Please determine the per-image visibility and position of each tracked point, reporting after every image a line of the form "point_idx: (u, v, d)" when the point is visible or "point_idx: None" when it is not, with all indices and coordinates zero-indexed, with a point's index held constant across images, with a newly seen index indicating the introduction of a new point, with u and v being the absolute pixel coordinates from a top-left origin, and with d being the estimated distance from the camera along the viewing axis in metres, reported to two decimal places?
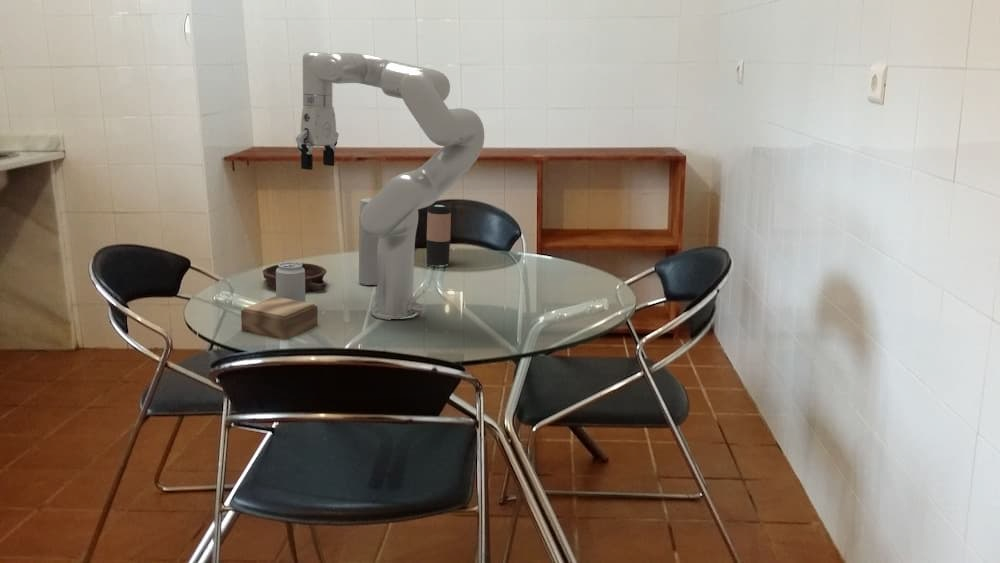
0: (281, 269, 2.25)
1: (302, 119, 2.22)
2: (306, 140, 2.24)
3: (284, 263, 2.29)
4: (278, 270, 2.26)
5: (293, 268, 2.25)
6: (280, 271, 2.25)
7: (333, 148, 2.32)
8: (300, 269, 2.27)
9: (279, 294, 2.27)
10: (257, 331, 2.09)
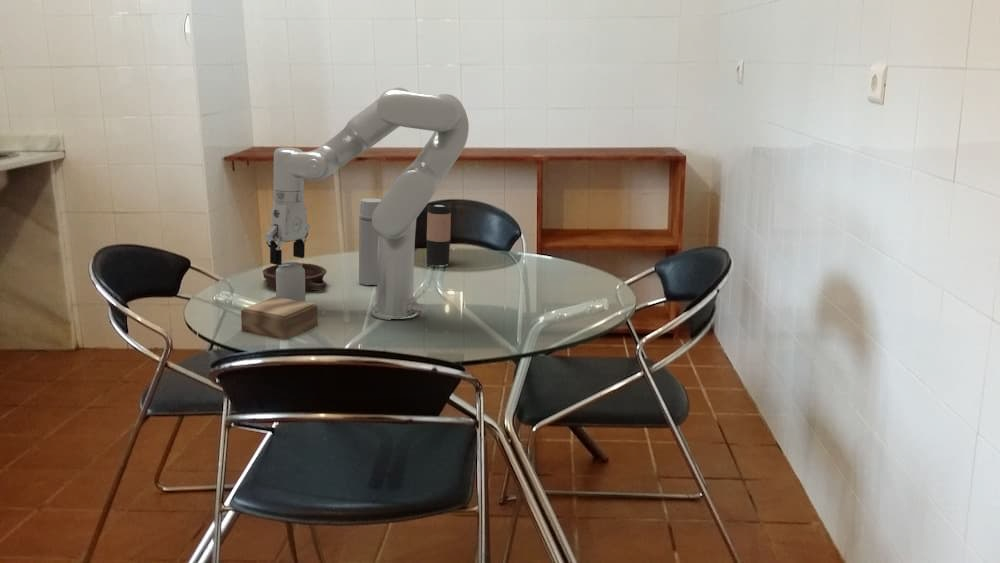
0: (281, 269, 2.25)
1: (272, 215, 2.20)
2: (276, 235, 2.23)
3: (284, 263, 2.29)
4: (278, 270, 2.26)
5: (293, 268, 2.25)
6: (280, 271, 2.25)
7: (303, 240, 2.30)
8: (300, 269, 2.27)
9: (280, 294, 2.27)
10: (257, 331, 2.09)
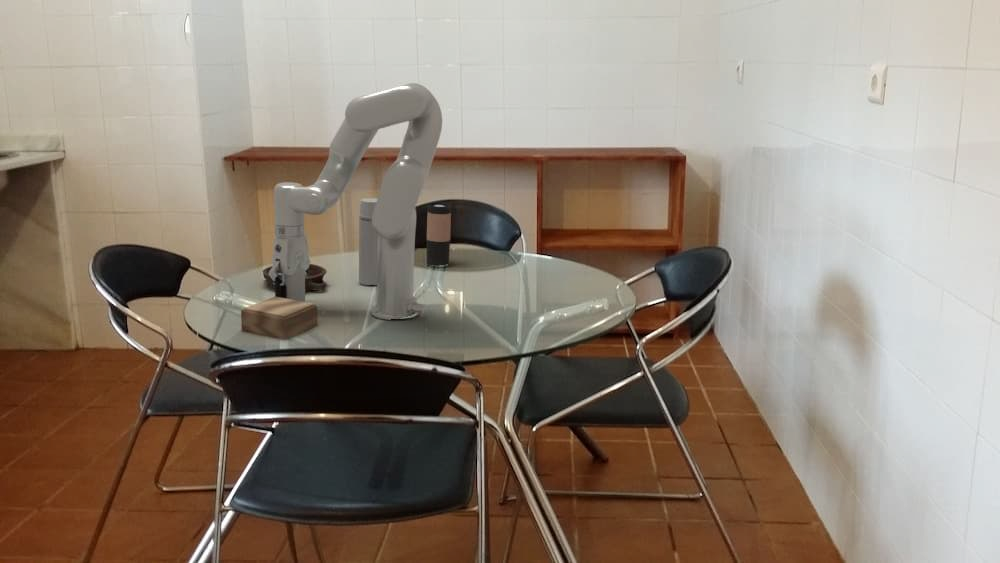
0: None
1: (274, 249, 2.23)
2: (278, 269, 2.25)
3: None
4: None
5: None
6: (280, 271, 2.25)
7: None
8: (300, 269, 2.27)
9: None
10: (257, 331, 2.09)
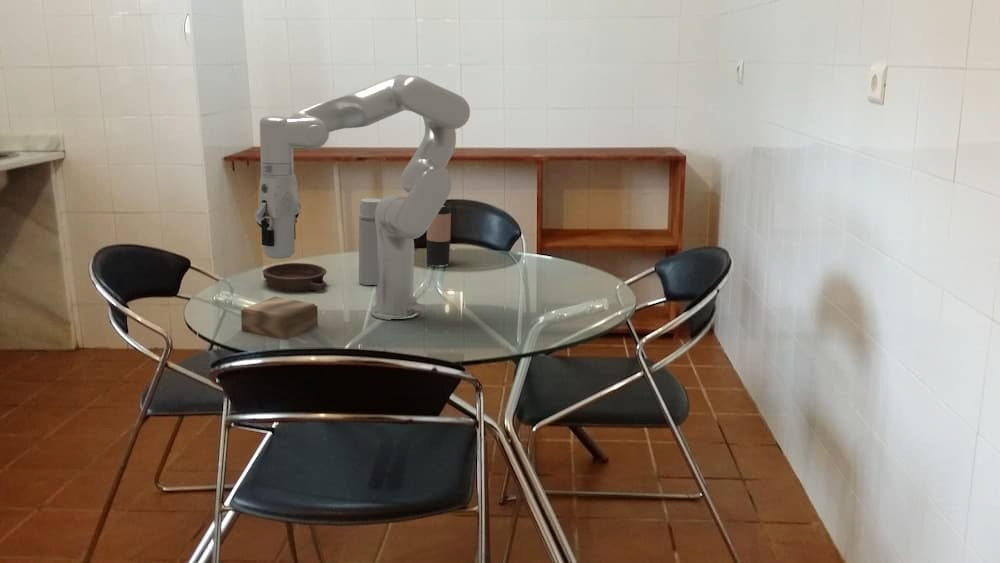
0: None
1: (260, 190, 2.02)
2: (265, 212, 2.04)
3: None
4: None
5: None
6: (266, 215, 2.04)
7: (294, 221, 2.11)
8: (289, 212, 2.06)
9: None
10: (257, 331, 2.09)
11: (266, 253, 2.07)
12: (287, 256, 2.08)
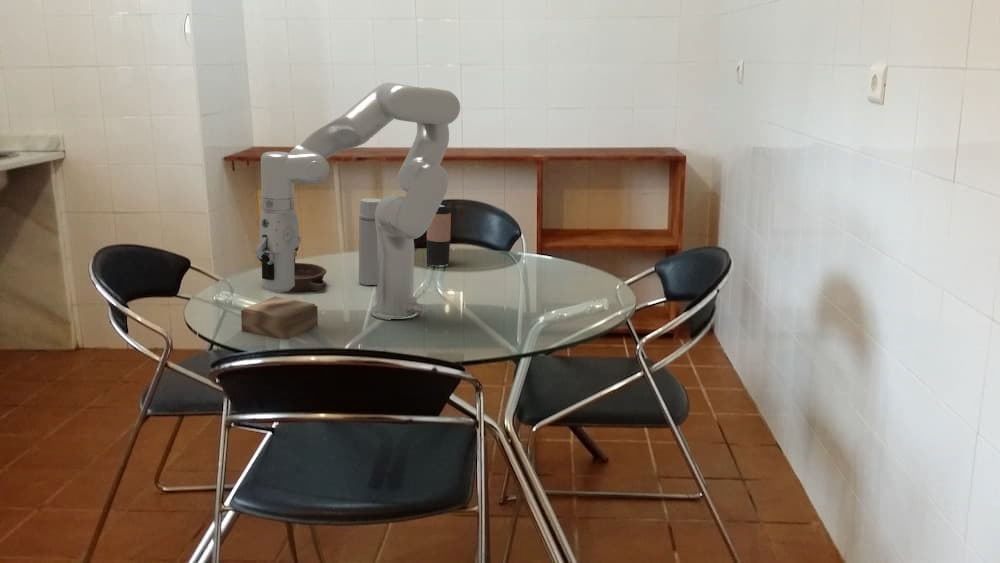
0: None
1: (260, 225, 2.04)
2: (265, 246, 2.06)
3: None
4: None
5: None
6: (267, 249, 2.06)
7: (294, 254, 2.13)
8: (289, 246, 2.08)
9: None
10: (257, 331, 2.09)
11: (266, 286, 2.09)
12: (287, 289, 2.10)
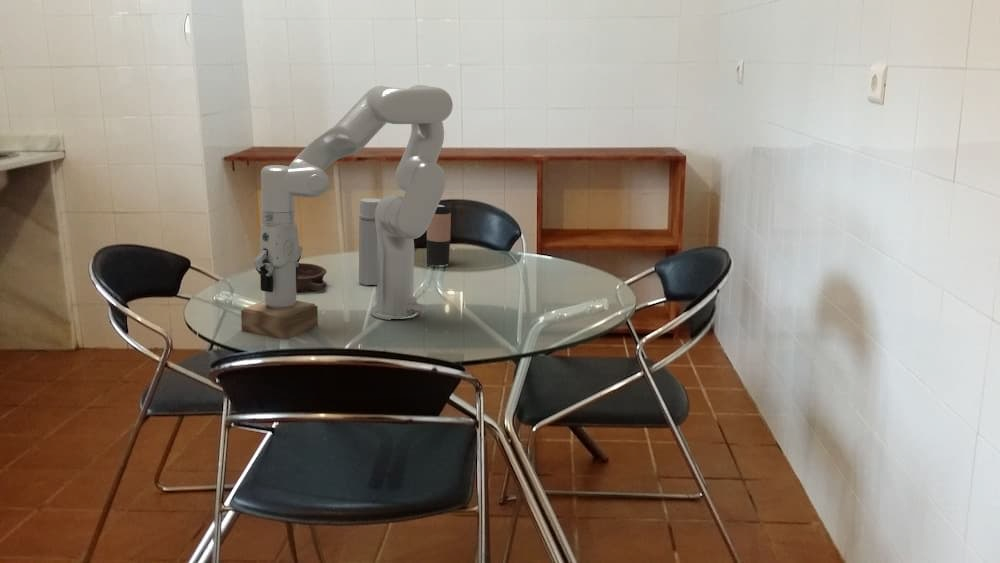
0: None
1: (261, 238, 2.05)
2: (266, 260, 2.07)
3: None
4: None
5: None
6: None
7: (296, 264, 2.15)
8: (290, 264, 2.09)
9: None
10: (257, 331, 2.09)
11: (268, 304, 2.10)
12: (289, 306, 2.11)
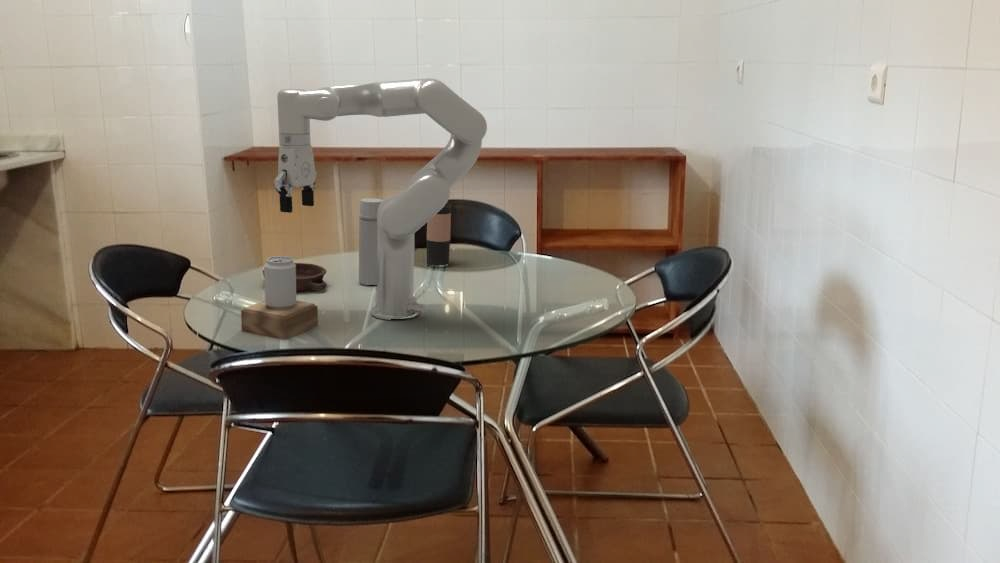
0: (270, 264, 2.08)
1: (279, 160, 2.11)
2: (284, 181, 2.13)
3: (273, 257, 2.12)
4: (267, 265, 2.08)
5: (283, 263, 2.08)
6: (268, 267, 2.07)
7: (312, 188, 2.21)
8: (290, 264, 2.09)
9: (268, 291, 2.09)
10: (257, 331, 2.09)
11: (268, 304, 2.10)
12: (289, 306, 2.11)
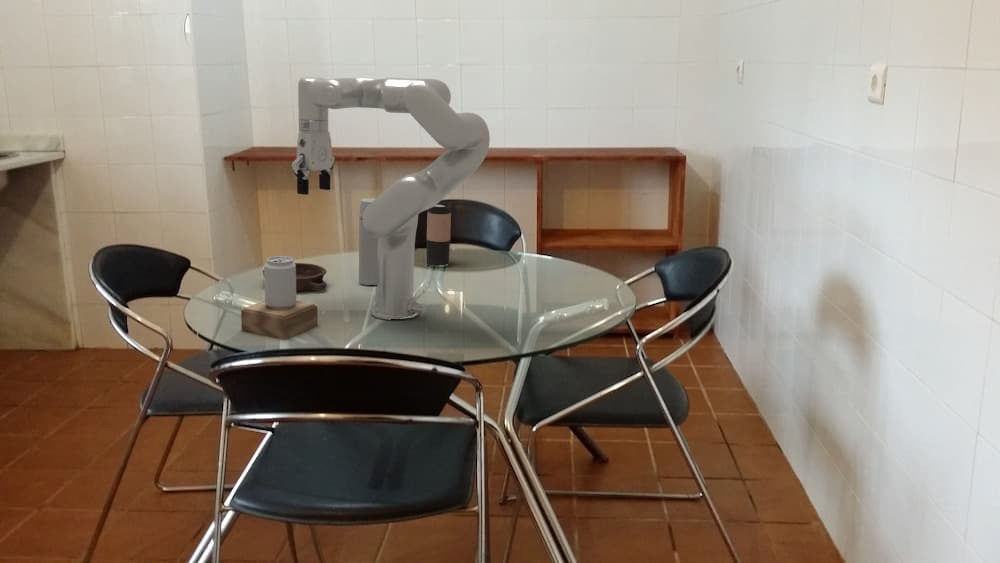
0: (270, 264, 2.08)
1: (298, 144, 2.22)
2: (302, 165, 2.24)
3: (273, 257, 2.12)
4: (267, 265, 2.08)
5: (283, 263, 2.08)
6: (268, 267, 2.07)
7: (329, 172, 2.32)
8: (290, 264, 2.09)
9: (268, 291, 2.09)
10: (257, 331, 2.09)
11: (268, 304, 2.10)
12: (289, 306, 2.11)
